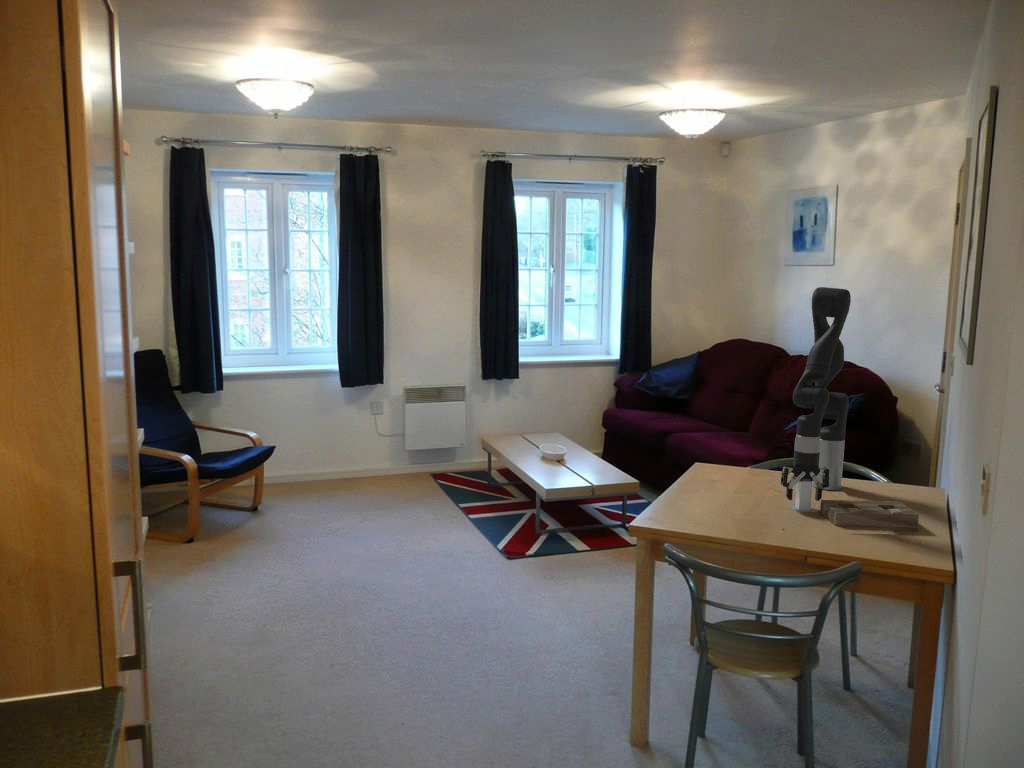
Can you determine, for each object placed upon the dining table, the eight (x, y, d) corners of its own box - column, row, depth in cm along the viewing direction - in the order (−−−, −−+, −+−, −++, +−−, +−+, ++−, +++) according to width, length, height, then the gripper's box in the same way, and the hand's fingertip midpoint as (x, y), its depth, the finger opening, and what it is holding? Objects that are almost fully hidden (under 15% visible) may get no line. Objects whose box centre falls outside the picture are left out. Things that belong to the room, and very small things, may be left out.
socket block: (819, 515, 262) (821, 498, 261) (898, 517, 262) (899, 500, 261) (834, 529, 249) (836, 511, 248) (917, 530, 249) (918, 513, 248)
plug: (795, 506, 268) (797, 476, 266) (806, 506, 268) (808, 476, 266) (798, 509, 264) (801, 479, 263) (810, 509, 264) (812, 480, 263)
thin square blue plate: (788, 507, 270) (788, 504, 269) (810, 508, 270) (810, 505, 269) (794, 514, 263) (795, 511, 263) (817, 514, 263) (817, 511, 262)
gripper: (826, 447, 267) (822, 497, 269) (780, 446, 267) (777, 496, 269) (834, 452, 259) (830, 504, 262) (787, 451, 259) (784, 503, 262)
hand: (803, 499), depth 265 cm, fingers open, 8 cm apart
